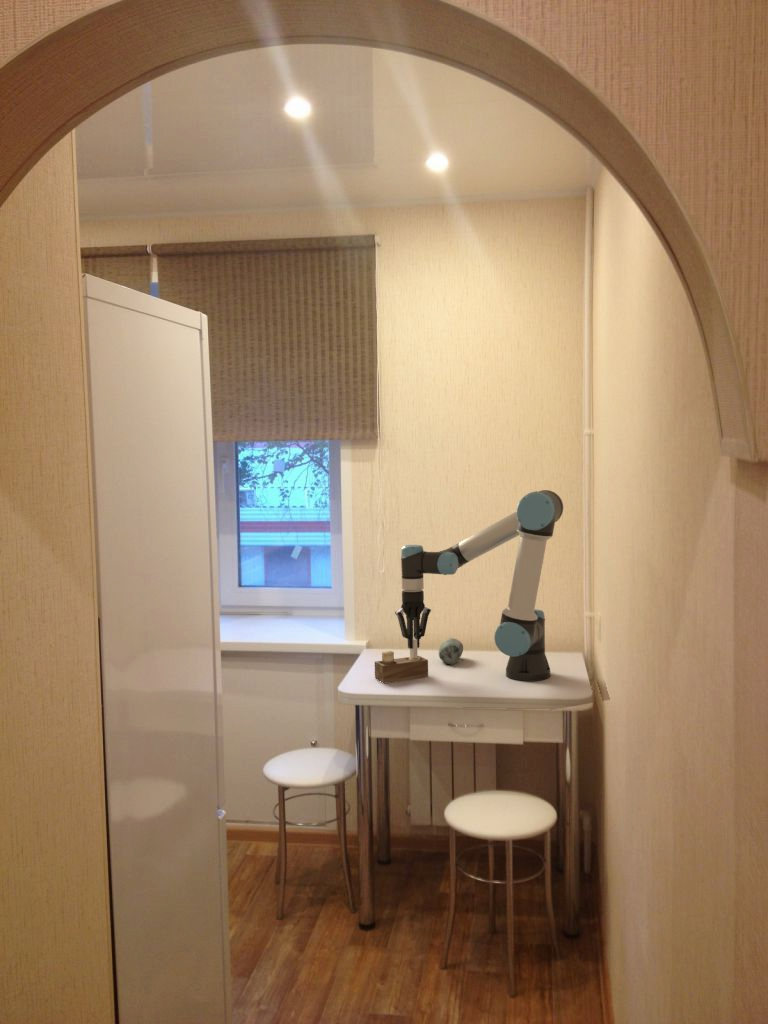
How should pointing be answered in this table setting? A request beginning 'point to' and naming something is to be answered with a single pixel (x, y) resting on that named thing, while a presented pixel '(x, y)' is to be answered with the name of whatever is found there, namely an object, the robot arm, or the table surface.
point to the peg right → (413, 659)
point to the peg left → (387, 657)
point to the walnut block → (401, 670)
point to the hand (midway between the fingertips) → (413, 657)
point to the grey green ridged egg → (451, 651)
